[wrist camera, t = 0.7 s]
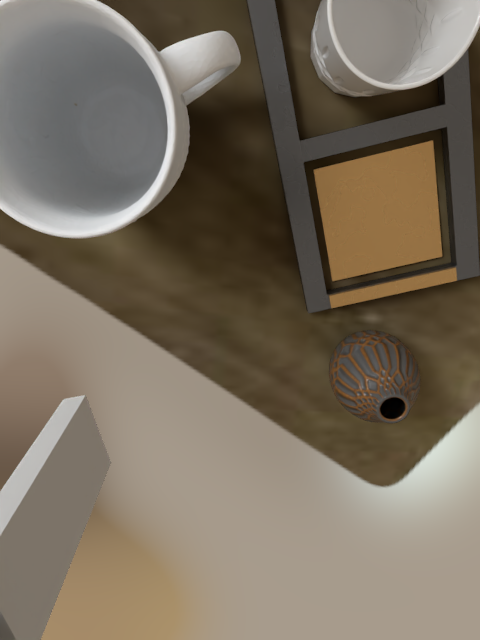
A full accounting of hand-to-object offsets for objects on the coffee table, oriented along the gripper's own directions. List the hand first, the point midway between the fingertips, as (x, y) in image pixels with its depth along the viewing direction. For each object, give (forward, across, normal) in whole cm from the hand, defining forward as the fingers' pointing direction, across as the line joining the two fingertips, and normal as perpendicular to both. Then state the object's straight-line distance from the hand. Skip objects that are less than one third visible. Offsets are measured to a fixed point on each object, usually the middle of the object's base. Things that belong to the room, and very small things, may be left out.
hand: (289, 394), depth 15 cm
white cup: (+24, +10, +12) cm, 29 cm away
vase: (+24, +7, -12) cm, 27 cm away
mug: (+24, -7, +10) cm, 27 cm away
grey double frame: (+24, +10, +6) cm, 26 cm away
